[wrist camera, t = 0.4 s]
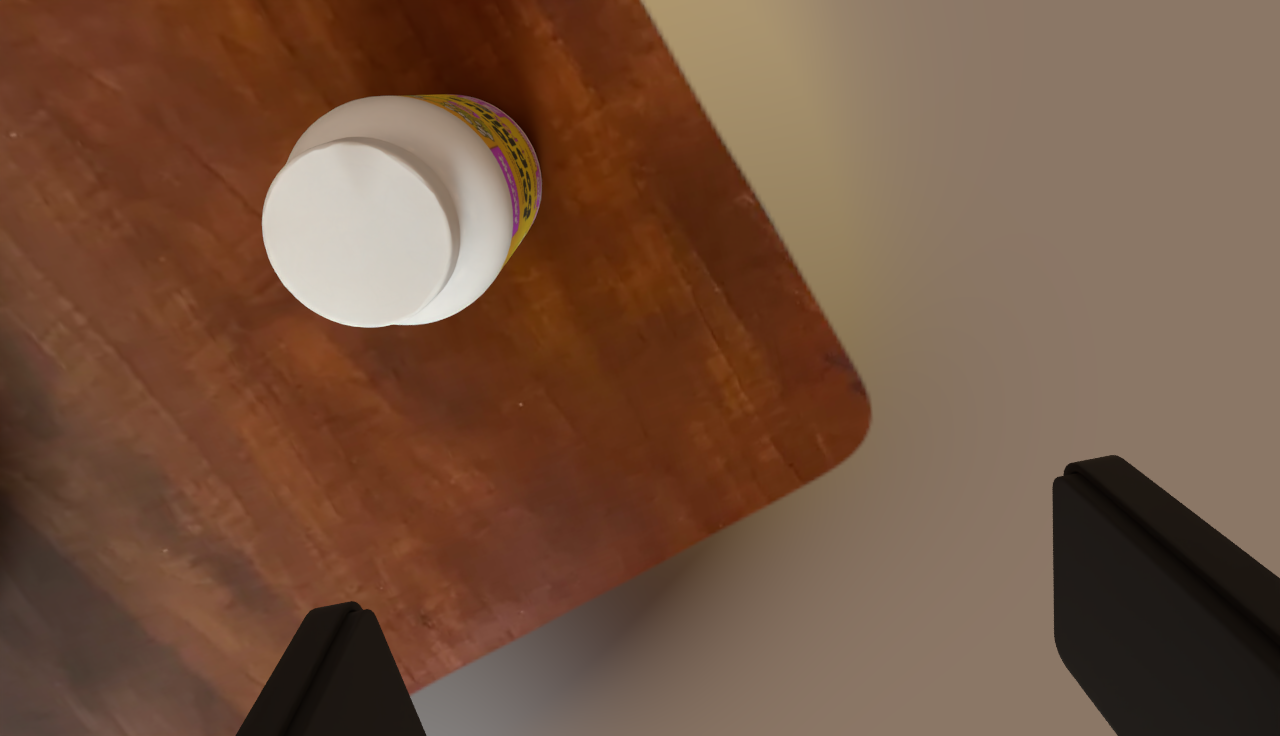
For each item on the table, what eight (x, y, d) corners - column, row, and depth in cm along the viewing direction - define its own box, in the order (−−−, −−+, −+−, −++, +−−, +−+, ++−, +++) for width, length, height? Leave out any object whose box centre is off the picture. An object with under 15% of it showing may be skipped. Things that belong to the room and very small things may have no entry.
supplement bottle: (574, 210, 31) (543, 292, 19) (441, 287, 32) (332, 409, 20) (485, 58, 29) (386, 42, 17) (346, 145, 30) (160, 188, 18)
